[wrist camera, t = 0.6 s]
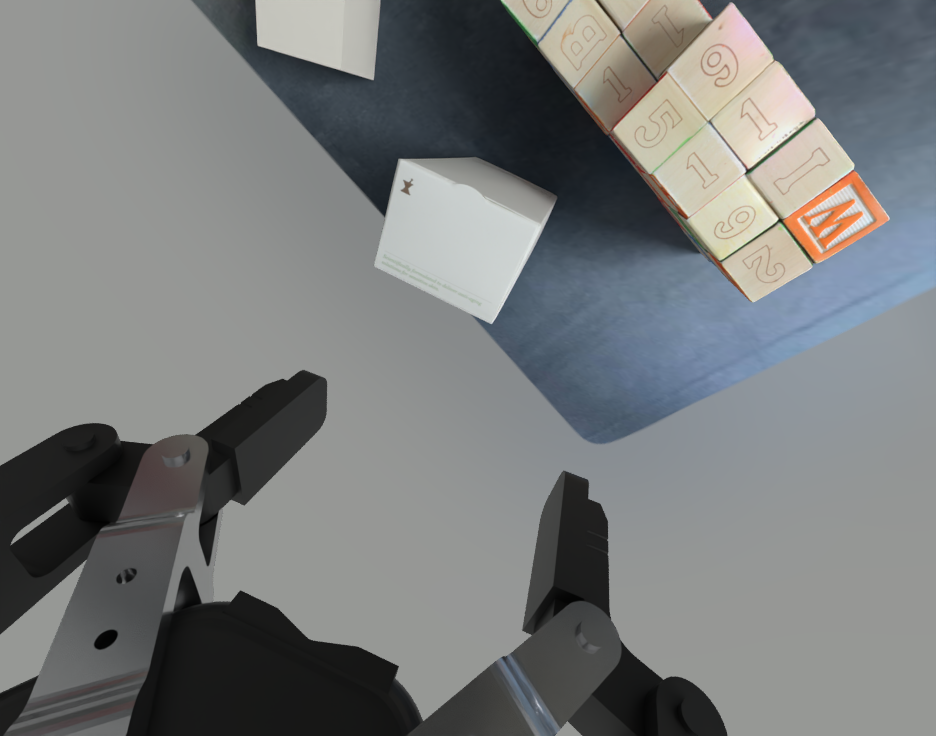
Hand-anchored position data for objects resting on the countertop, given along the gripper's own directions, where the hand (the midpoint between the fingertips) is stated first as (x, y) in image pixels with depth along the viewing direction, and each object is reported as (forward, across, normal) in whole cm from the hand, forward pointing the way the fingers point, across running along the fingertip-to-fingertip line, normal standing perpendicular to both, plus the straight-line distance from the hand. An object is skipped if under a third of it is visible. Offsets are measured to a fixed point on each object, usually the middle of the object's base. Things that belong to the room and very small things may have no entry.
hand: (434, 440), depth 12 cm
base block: (+27, +21, -13) cm, 37 cm away
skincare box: (+27, +4, -2) cm, 27 cm away
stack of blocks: (+27, -5, -11) cm, 30 cm away
